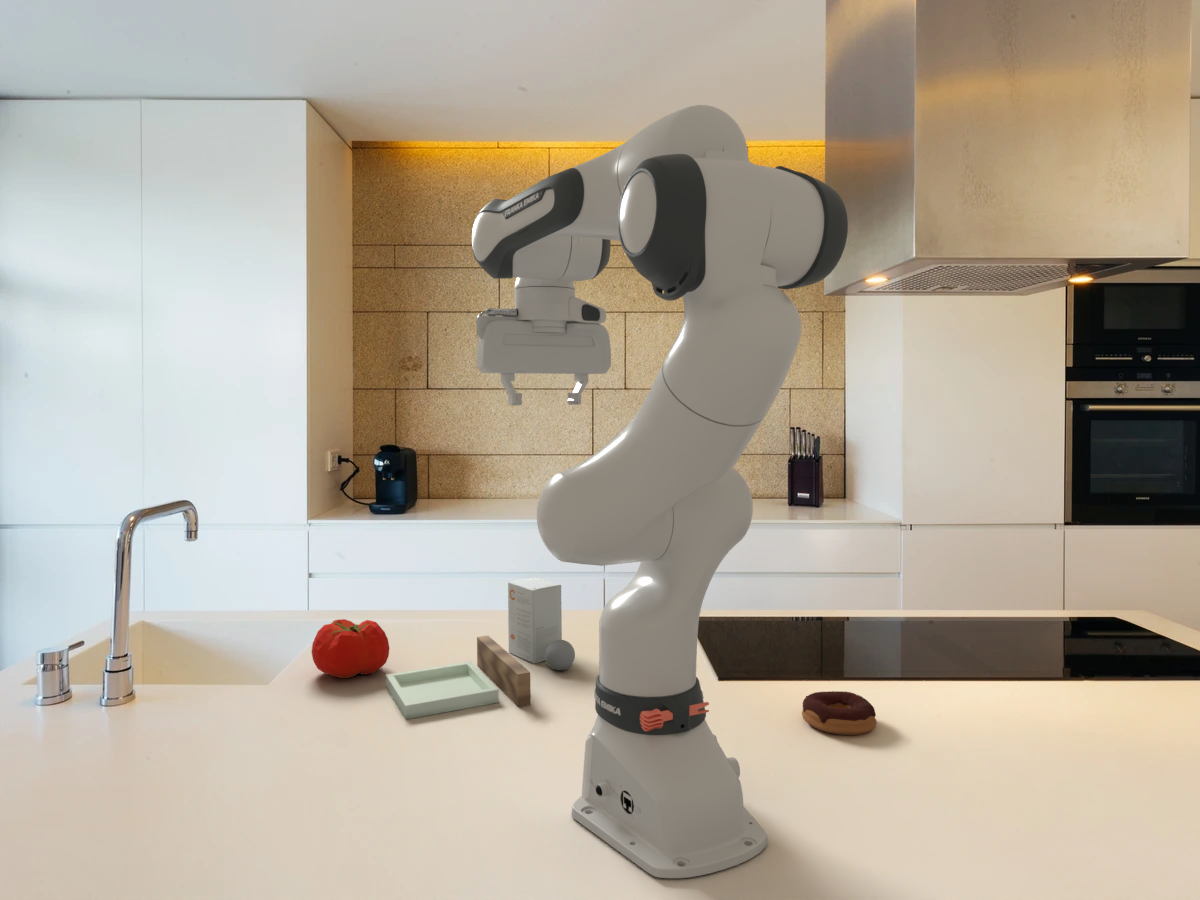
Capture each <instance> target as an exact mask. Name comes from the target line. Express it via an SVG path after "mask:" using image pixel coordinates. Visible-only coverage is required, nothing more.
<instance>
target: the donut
mask: <svg viewBox="0 0 1200 900" xmlns="http://www.w3.org/2000/svg"><path fill="white" fill-rule="evenodd" d="M801 715H802V719H803V721H805V723H807V724H809V725H810V726H811V727H812V728H815V729H817V730H819V731H822V732H825V733H829V734H834V735H842V736H843V735H844V736H857V735H864V734H868V733H870V732H871V731H873V730H874V729H875V728H876V726H877V725H878V724H877V719H876V715H877V714H876V711H875V708H874V706H873V705H872V704H871V703H870V701H868V700H867V699H866V698H864V697H863V696H861V695H859V694H857V693H855V692H852V691H834V690H832V691H816V692H812V693H810V694H808V695H806V696H805V698H804V699H803V702H802V710H801Z"/></svg>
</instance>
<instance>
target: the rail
mask: <svg viewBox="0 0 1200 900" xmlns="http://www.w3.org/2000/svg"><path fill="white" fill-rule="evenodd" d="M476 659H477V660H476V662H477V666H476V667H477V668H478V669H479V670H480V671H481V672H482V673H483V674H484V675H485V676H486V677H487V678H488V679H489V680H490V681H491V682H492V683H493V684H494V685H495V686H496V687H498V689H499V690H501V692H502V693H503V694H505V695H506V696H507V698H508V699H509V700H511V701H512V703H513V704H514V705H515V706H516V707H518V708H521V707H527V706H530V705H532V704H531V699H532V698H531V672H530V671H529V669H527V668H526V667H525V666H524V665H523V664H521V662H519V661H518V660H517V659H516V658H515V657H513V656H512V654H511V653H509V651H507V650H505V648H503V647H502V646H501V645H500V644H499V643H498V642H497V641H495V640H494V639H493V638H492V637H490V636H489V635H481V636H476Z"/></svg>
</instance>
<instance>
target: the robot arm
mask: <svg viewBox="0 0 1200 900" xmlns="http://www.w3.org/2000/svg"><path fill="white" fill-rule="evenodd" d="M848 224H849V221H848V213H847V208H846V206H845V203H844V201H843V199H842V196H841V195H840V194H839V193H838V191H836V190H835V189H834V188H833V187H832V186H830V185H828V184H827V183H825V182H823V181H822V180H819V179H817V178H815V177H814V176H811V175H808V174H806V173H804V172H802V171H797V170H793V169H790V168H788V167H785V166H783V165H778V166H776V167H770V166H764V165H760V164H759V165H758V164H755V163H752V162H751V161H750V160H749V152H748V144H747V141H746V138H745V136H744V132H743V131H742V129H741V127H740V126H739V124H738V123H737V122H736V120H735V119H734V118H732V116H731V115H729V114H728V113H727V112H725V111H723V110H722V109H719V108H717V107H715V106H711V105H707V104H705V105H704V104H695V105H690V106H687V107H684V108H682V109H679V110H676V111H674V112H671V113H669V114H667V115H665V116H663V117H661V118H658V119H657V120H656V121H653V122H652V123H650V124H648V125H647V126H645V127H644V128H643V129H641V130H640V131H639V132H637V133H636V134H635V135H634V136H632V137H631V138H629V139H628V140H627V141H625V142H623V143H622V144H620V145H619V146H617V147H615V148H613V149H610V150H609V151H608V152H605V153H603V154H601V155H600V156H597V157H594V158H593V159H589V160H587V161H585V162H583V163H581V164H578V165H575V166H573V167H570V168H567V169H565V170H562V171H560V172H556V173H554V174H552V175H550V176H548V177H546V178H543V179H542V180H541V181H538V182H537V183H534V185H532V186H530V187H528V188H526V189H525V190H523V191H522V192H520V193H518V194H516V195H515V196H513V197H511V198H509V199H508V200H506V199H500V198H493V199H492V200H490V201H489V202H488V203H487V204H486V205H485V206H484V207H483V208H482V209H481V210H480V211H479V212H478V213H477V215H476V217H475V218H474V222H473V226H472V230H471V250H472V254H473V257H474V259H475V261H476V262H477V264H478V265H479V267H481V269H482V270H483V271H484V272H485V273H486V274H487V275H488V276H490V277H491V278H492V279H495V280H496V279H497V280H501V279H504V280H505V279H513V278H514V279H515V278H516V280H515V284H514V308H495V307H488V308H486V309H485V310H484V311H481V312H480V313H479V314H478V315H477V317H476V322H475V323H476V327H475V328H476V329H475V330H476V333H477V336H478V341H477V347H476V348H477V349H476V368H477V369H478V371H479V372H480V373H481V374H500V382H501V384H502V386H503V387H504V389H505V392H506V393H507V394H508V395H507V396H508V397H507V398H508V405H509V406H522V405H523V400H522V399H523V393H521V392H518V393H517V391H516V388H515V386H514V384H513V383H512V382H515V379H516V377H515V374H542V375H543V374H546V375H547V374H550V375H551V374H552V375H554V374H556V375H557V374H558V375H559V374H565V375H568V374H569V375H572V374H573V380H574V382H577V383H576V384H575V387H574V389H573V391H572V392H568V393H567V404H568V405H571V406H576V405H577V406H578V405H579V406H580V405H581V404H582V393H583V392H584V390H585V389H586V386H587V384H588V383H589V375H604V374H607V373H608V371H609V370H610V368H611V366H612V350H611V349H612V348H611V340H610V335H609V331H608V330H607V327H605V326H604V325H603V324H604V323H606V320H607V311H606V310H605V309H604V308H602V307H601V306H597V305H595V304H592V303H590V302H588V301H585V300H584V299H581V298H579V297H577V296H576V288H575V283H574V282H582V281H588V280H593V279H595V278H597V276H598V275H600V274H601V273H602V272H603V270H604V269H605V268H606V267H607V265H608V264H609V261H610V257H611V241H618V242H620V246H621V248H622V250H623V252H624V253H625V255H626V256H627V258H628V259H629V262H631V264H632V265H633V268H634V269H635V270H636V271H637V272H638V274H640V275H641V276H642V277H643V278H645V279H646V280H647V281H648V282H650V283H651V288H652V290H653V292H654V294H655V295H656V296H657V297H659V298H660V299H662V300H664V301H668V302H669V301H672V302H673V301H676V300H679V299H681V298H682V299H683V307H684V310H683V313H684V314H683V320H682V324H681V326H680V329H679V331H678V333H677V336H676V337H675V340H674V342H673V343H672V345H671V347H670V349H669V350H668V352H667V354H666V357H665V358H664V361H663V363H662V366H661V367H660V369H659V371H658V374H657V376H656V377H655V379H654V381H653V383H652V386H651V388H650V389H649V392H648V393H647V395H646V396H645V399H644V401H643V402H642V404H641V406H640V408H639V410H638V411H637V413H635V416H634V417H633V418H632V419H631V420H630V421H629V422H628V423H627V425H626V426H625V427H624V428H623V429H622V430H621V431H620V432H619V433H617V435H616V436H615V437H613V438H612V439H611V440H610V441H609V442H607V444H605V445H604V446H603V447H602V448H600V449H599V450H598V451H597V452H595V453H594V454H592V455H591V456H589V457H588V458H586V459H584V460H583V461H582V462H581V461H580V462H579V463H578V464H576V465H575V466H573V467H570V468H568V469H566V470H564V471H560V472H559V473H555V474H554V475H553V476H551V478H550V479H549V480H548V481H547V483H545V486H544V488H543V489H542V491H541V494H540V496H539V499H538V502H537V508H536V523H537V524H536V525H537V529H538V533H539V535H540V538H541V540H542V542H543V544H544V545H545V548H546V549H547V550H548V551H549V552H550V553H551V555H552V556H554V558H556V559H557V560H558V561H560V562H563V563H569V564H570V563H571V564H579V565H588V566H600V567H601V566H613V565H621V564H632V563H639V566H638V568H637V570H636V573H635V574H634V576H633V577H632V579H631V580H630V582H629V583H628V584H627V585H626V586H625V587H624V588H623V589H621V590H620V591H619V592H618V593H616V594H615V595H613V596H612V597H611V598H610V599H609V600H608V601H607V602H606V604H605V605H604V608H603V609H602V611H601V614H600V616H599V617H600V618H599V625H598V626H599V627H598V632H599V634H598V636H599V637H598V641H599V643H598V649H599V653H598V656H599V657H598V659H599V660H598V662H599V664H598V666H599V667H598V668H599V670H598V671H599V674H598V675H597V676H596V679H595V687H594V700H595V704H594V709H595V711H596V713H597V716H596V719H595V722H594V725H593V727H592V729H591V731H590V732H589V734H588V735H587V738H586V740H585V743H584V757H583V771H582V772H583V773H582V783H581V784H582V785H581V786H582V787H581V796H579V798H577V799H576V800H575V801H574V802H573V804H572V806H571V817H572V818H573V819H574V820H575V821H577V822H578V823H580V824H581V825H582V826H583V827H585V828H586V829H588V830H589V831H590V832H592V833H593V834H595V835H596V836H597V837H599V838H600V839H601V840H603V841H604V842H606V843H607V844H608V845H610V846H611V847H612V848H614V849H615V850H616V851H618V852H620V854H622V855H623V856H624V857H626V858H627V859H628V860H630V861H632V862H633V863H634V864H635V865H637V866H638V867H640V868H641V869H642V870H644V871H645V872H646V873H647V874H649V875H651V876H653V877H656V878H658V879H659V878H663V879H684V878H694V877H700V876H704V875H708V874H712V873H716V872H720V871H723V870H726V869H729V868H732V867H734V866H735V867H736V866H737V865H740V864H742V863H745V862H747V861H749V860H751V859H752V858H754V857H756V856H757V855H758V854H760V853H761V852H762V851H763V850H765V848H766V847H767V845H768V834H767V833H766V831H765V830H764V828H763V827H762V825H760V824H759V822H758V820H756V818H755V817H753V816H752V814H751V813H750V812H749V811H748V810H747V808H746V807H745V806H744V805H745V804H744V794H743V787H742V784H741V781H740V777H741V776H740V775H741V766H740V763H739V762H738V760H737V758H735V757H732V756H731V757H727V756H726V754H725V752H724V751H723V749H722V747H721V746H720V743H719V742H718V737H717V736H716V735H715V734H714V733H713V732H712V730H711V728H710V726H709V724H708V723H707V720H706V717H707V713H710V710H709V709H706V707H708V706H709V705H710V702H708V701H706V702H705V701H704V694H703V693H704V692H703V691H702V689H701V683H700V680H699V678H698V677H697V654H698V653H697V652H698V635H699V634H698V633H699V621H700V615H701V610H702V605H703V602H704V600H705V599H704V598H705V595H706V593H707V590H708V588H709V585H710V583H711V581H712V579H713V577H714V575H715V573H716V572H717V569H718V568H719V566H720V565H721V563H722V561H724V559H725V557H727V554H729V552H730V551H731V550H732V549H733V548H734V547H735V546H736V545H737V544H739V543H740V542H741V541H742V540H743V539H744V538H745V536H746V535H747V532H748V531H749V529H750V526H751V522H752V519H753V515H754V513H753V512H754V504H753V497H752V492H751V490H750V488H749V485H748V483H747V482H746V480H745V478H744V477H743V475H742V474H741V473H740V472H739V471H738V470H737V469H735V468H734V466H735V465H736V464H737V463H738V462H739V461H738V460H739V459H740V458H741V456H742V454H743V453H744V451H745V449H746V448H747V446H748V445H749V443H750V442H751V441H752V439H753V437H754V435H755V433H756V432H757V431H758V429H759V427H760V425H761V424H762V422H763V421H764V419H765V418H766V416H767V414H768V412H769V411H770V409H771V407H772V406H773V403H774V402H775V400H776V398H777V396H778V394H779V393H780V391H781V389H782V386H783V385H784V382H785V380H786V378H787V376H788V374H789V371H790V368H791V365H792V364H793V361H794V358H795V355H796V354H797V353H796V352H797V349H798V346H799V343H800V340H801V336H802V320H801V315H800V313H799V311H798V309H797V307H796V305H795V304H794V303H793V301H792V300H791V298H790V297H789V296H788V295H787V294H786V293H784V292H783V291H782V290H791V289H797V288H805V287H808V286H811V285H814V284H816V283H819V282H821V281H822V280H824V279H826V277H828V276H829V275H830V274H831V273H833V271H834V269H835V268H836V266H837V265H838V263H839V262H840V261H841V258H842V255H843V253H844V251H845V247H846V244H847V237H848V230H849V225H848Z"/></svg>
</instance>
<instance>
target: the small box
mask: <svg viewBox="0 0 1200 900" xmlns="http://www.w3.org/2000/svg"><path fill="white" fill-rule="evenodd" d="M507 597H508V598H507V599H508V601H507V605H508V606H507V610H508V613H507V614H508V615H507V620H508V621H507V622H508V623H507V624H508V625H507V626H508V653H509V654H510V655H514V656H516V657H518V658H520V659H523V660H524V661H527V662H529V663H532V664H538V663H541V662H547V661H546V657H545V653H546V649H547V647H548V646H549V645H550V644H551V643H552V642H553V641H556V640H563V638H562V637H563V635H562V634H563V633H562V632H563V631H562V629H563V628H562V625H563V624H562V614H563V613H562V584H560V583H556V582H554V581H550V580H546V579H543V578H540V577H537V576H534V577H528V578H522V579H521V578H520V579H517V580H511V581H508V582H507Z"/></svg>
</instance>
